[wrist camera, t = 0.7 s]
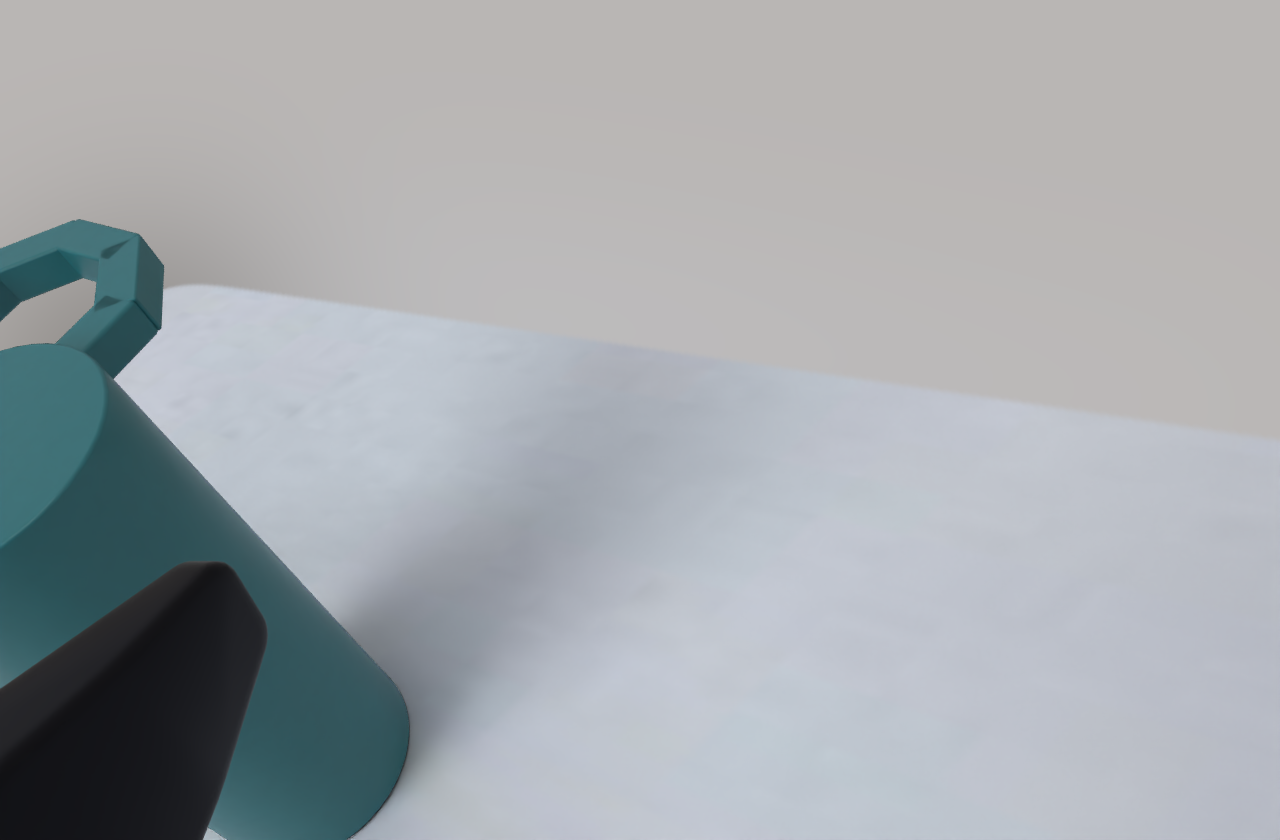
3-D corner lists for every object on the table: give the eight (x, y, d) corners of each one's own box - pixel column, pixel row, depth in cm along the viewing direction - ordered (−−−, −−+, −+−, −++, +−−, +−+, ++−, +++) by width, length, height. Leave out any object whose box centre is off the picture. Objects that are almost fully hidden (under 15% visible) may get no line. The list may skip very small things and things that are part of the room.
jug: (423, 815, 26) (96, 519, 16) (217, 894, 26) (-225, 643, 17) (380, 507, 32) (128, 171, 23) (215, 571, 32) (-103, 260, 23)
